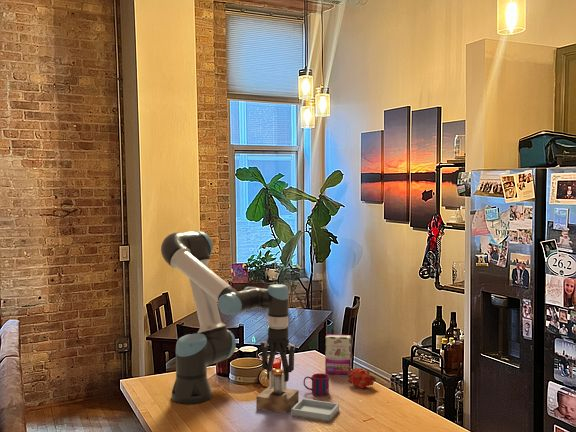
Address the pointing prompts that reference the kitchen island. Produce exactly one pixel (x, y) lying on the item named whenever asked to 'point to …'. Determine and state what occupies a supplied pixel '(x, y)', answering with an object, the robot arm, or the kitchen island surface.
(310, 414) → the tray
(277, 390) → the pin
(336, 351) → the candy bar box
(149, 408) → the kitchen island surface
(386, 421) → the kitchen island surface
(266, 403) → the socket block
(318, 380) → the mug
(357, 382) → the dragon fruit
